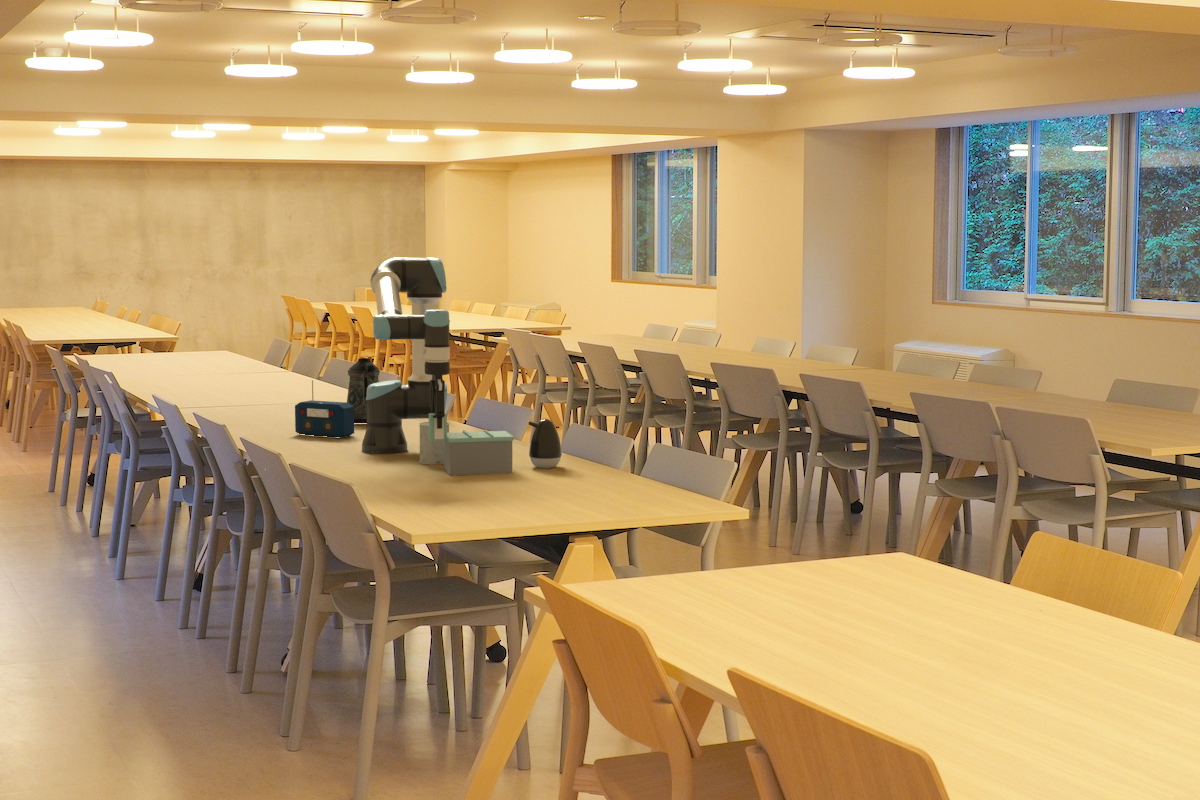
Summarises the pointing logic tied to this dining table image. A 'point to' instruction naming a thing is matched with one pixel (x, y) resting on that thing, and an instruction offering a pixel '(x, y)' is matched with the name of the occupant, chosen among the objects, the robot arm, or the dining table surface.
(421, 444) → the grey speckled cylinder
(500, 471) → the tub
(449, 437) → the ridged green paddle
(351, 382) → the beer stein
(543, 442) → the pump dispenser
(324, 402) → the radio
